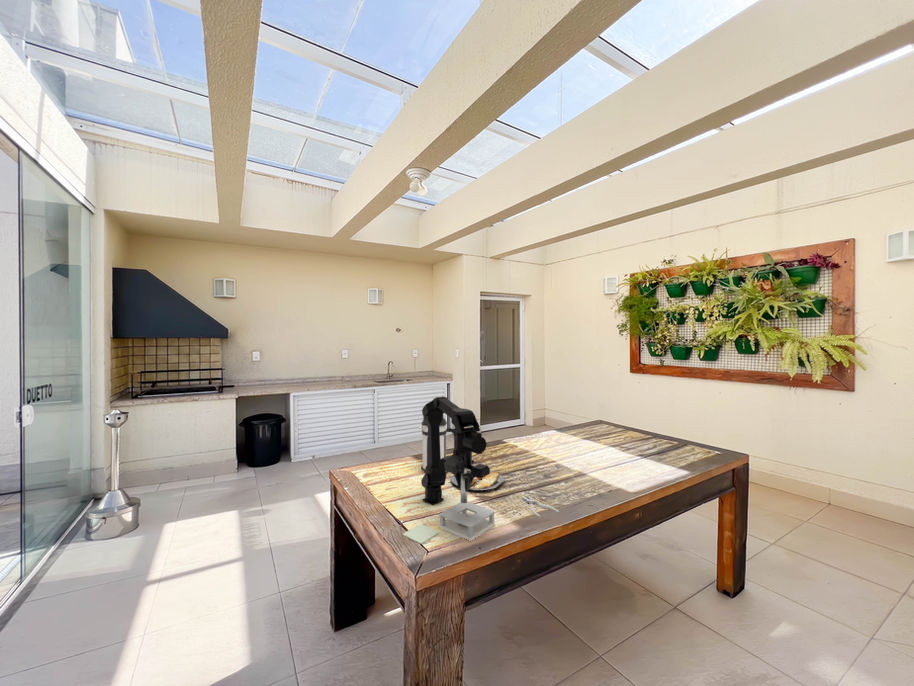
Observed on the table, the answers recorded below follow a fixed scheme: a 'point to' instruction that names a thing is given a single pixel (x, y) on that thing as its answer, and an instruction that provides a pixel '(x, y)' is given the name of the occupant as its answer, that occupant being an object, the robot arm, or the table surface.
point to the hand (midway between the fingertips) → (463, 490)
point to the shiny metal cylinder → (463, 489)
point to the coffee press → (442, 441)
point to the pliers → (531, 502)
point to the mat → (421, 533)
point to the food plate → (484, 481)
